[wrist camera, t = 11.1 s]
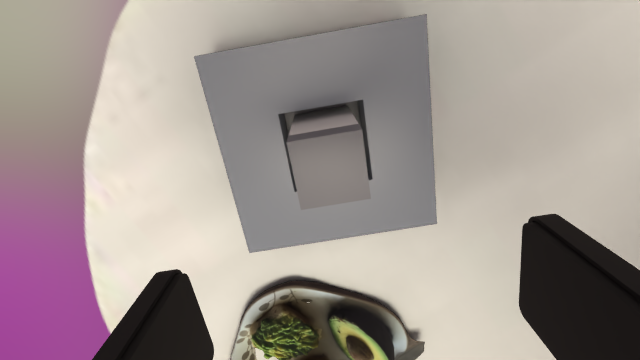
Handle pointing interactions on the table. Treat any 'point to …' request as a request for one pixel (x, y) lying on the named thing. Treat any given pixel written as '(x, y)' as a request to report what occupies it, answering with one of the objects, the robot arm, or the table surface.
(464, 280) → the table surface
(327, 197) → the block
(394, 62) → the block
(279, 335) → the salad plate
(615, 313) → the robot arm
